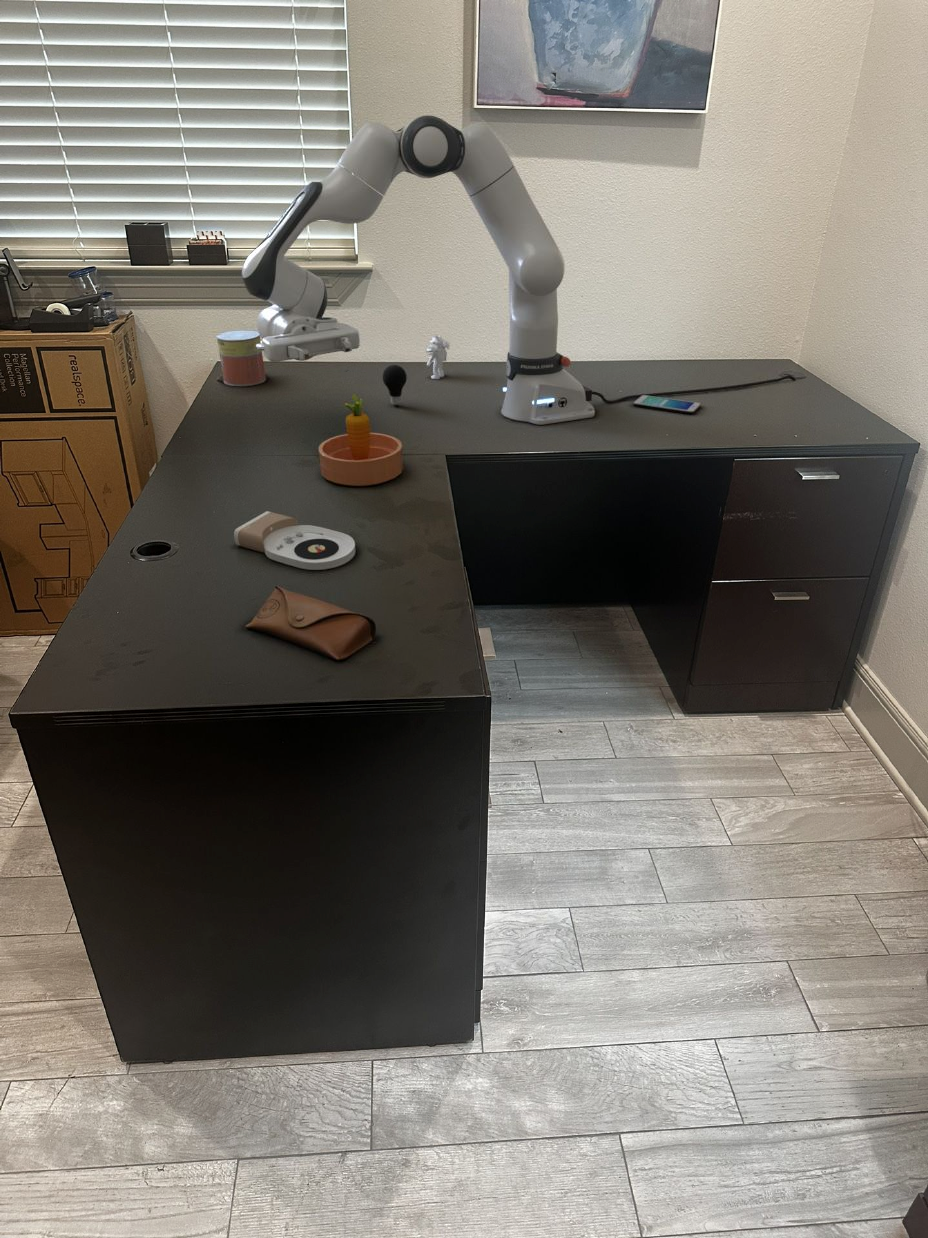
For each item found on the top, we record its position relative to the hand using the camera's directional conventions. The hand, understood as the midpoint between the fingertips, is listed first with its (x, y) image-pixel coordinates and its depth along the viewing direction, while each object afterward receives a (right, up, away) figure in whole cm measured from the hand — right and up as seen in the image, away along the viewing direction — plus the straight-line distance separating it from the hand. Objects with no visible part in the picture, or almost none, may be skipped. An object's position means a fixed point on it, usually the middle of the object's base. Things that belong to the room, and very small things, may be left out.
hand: (327, 351), depth 167 cm
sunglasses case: (+6, -56, -49) cm, 74 cm away
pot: (+7, -24, +3) cm, 25 cm away
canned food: (-32, +11, +60) cm, 69 cm away
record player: (0, -42, -26) cm, 49 cm away
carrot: (+7, -23, +3) cm, 24 cm away
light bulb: (+11, -1, +40) cm, 42 cm away
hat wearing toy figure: (+20, +13, +62) cm, 66 cm away
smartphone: (+77, -1, +38) cm, 86 cm away
